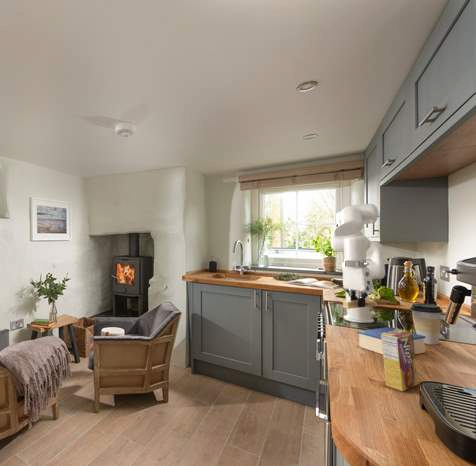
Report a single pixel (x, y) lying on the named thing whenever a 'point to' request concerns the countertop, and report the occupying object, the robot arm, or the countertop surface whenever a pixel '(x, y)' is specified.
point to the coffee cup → (427, 321)
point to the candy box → (399, 359)
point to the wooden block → (354, 304)
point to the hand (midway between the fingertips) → (358, 305)
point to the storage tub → (374, 340)
